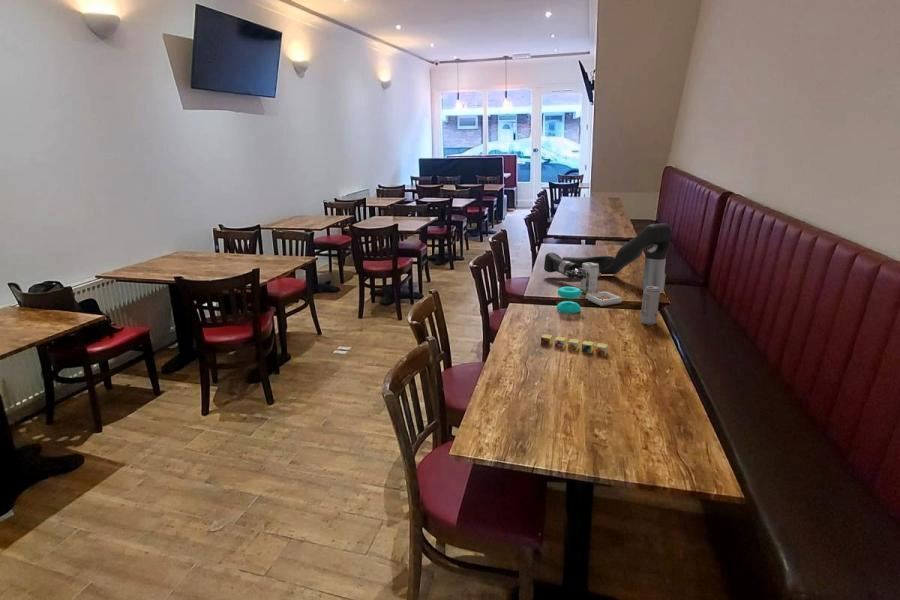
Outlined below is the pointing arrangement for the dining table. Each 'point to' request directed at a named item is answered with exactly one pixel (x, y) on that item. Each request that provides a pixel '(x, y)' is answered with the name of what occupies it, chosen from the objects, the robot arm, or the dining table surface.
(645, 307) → the energy drink can
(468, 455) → the dining table surface
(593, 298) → the tray
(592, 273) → the syrup box
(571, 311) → the donuts
